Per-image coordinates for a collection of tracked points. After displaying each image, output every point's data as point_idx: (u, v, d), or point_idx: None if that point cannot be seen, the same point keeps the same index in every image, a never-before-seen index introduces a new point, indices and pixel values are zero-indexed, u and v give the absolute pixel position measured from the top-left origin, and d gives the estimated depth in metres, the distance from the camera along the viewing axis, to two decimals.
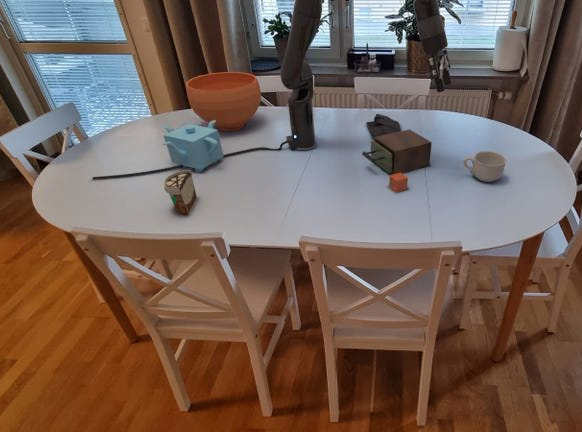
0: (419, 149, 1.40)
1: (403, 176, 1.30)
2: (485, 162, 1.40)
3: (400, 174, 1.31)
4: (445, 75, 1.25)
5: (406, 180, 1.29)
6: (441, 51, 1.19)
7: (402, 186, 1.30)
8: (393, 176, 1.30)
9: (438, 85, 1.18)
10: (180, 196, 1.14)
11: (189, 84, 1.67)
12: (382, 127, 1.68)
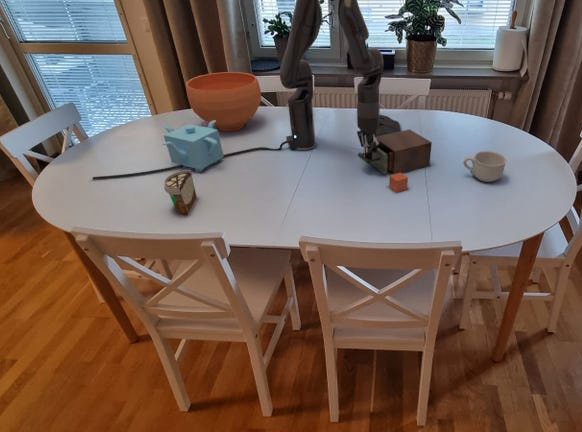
0: (419, 149, 1.40)
1: (403, 176, 1.30)
2: (485, 162, 1.40)
3: (400, 174, 1.31)
4: None
5: (406, 180, 1.29)
6: None
7: (402, 186, 1.30)
8: (393, 176, 1.30)
9: (370, 156, 1.38)
10: (180, 196, 1.14)
11: (189, 84, 1.67)
12: (382, 127, 1.68)
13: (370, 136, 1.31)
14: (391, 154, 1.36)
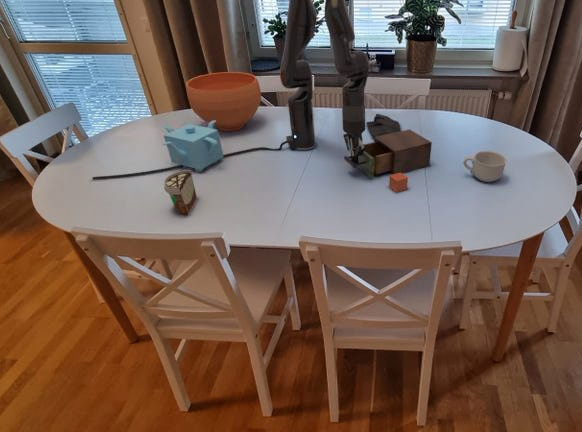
0: (419, 149, 1.40)
1: (403, 176, 1.30)
2: (485, 162, 1.40)
3: (400, 174, 1.31)
4: (354, 156, 1.36)
5: (406, 180, 1.29)
6: None
7: (402, 186, 1.30)
8: (393, 176, 1.30)
9: (356, 160, 1.36)
10: (180, 196, 1.14)
11: (189, 84, 1.67)
12: (382, 127, 1.68)
13: (356, 140, 1.29)
14: (377, 157, 1.34)
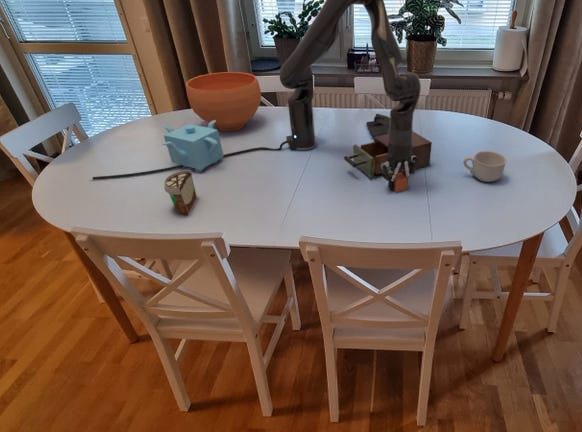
0: (419, 149, 1.40)
1: (403, 176, 1.30)
2: (485, 162, 1.40)
3: (400, 174, 1.31)
4: None
5: (406, 180, 1.29)
6: None
7: (402, 186, 1.30)
8: None
9: (389, 184, 1.30)
10: (180, 196, 1.14)
11: (189, 84, 1.67)
12: (382, 127, 1.68)
13: None
14: (377, 157, 1.34)
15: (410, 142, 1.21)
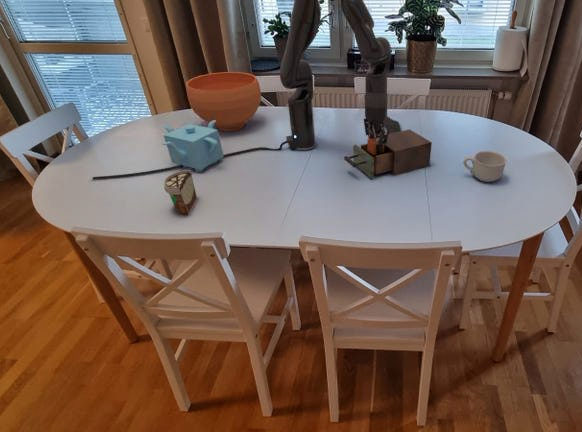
0: (419, 149, 1.40)
1: (375, 138, 1.38)
2: (485, 162, 1.40)
3: (371, 139, 1.38)
4: None
5: None
6: None
7: None
8: (375, 141, 1.36)
9: (380, 149, 1.36)
10: (180, 196, 1.14)
11: (189, 84, 1.67)
12: None
13: (378, 126, 1.30)
14: (377, 157, 1.34)
15: None
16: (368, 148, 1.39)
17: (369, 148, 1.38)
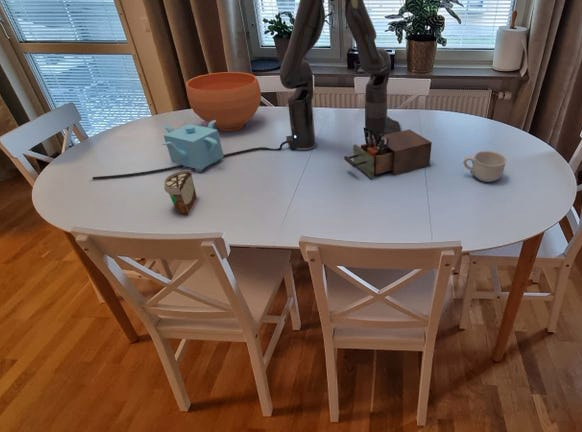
0: (419, 149, 1.40)
1: None
2: (485, 162, 1.40)
3: (371, 148, 1.40)
4: None
5: None
6: None
7: None
8: (375, 150, 1.38)
9: None
10: (180, 196, 1.14)
11: (189, 84, 1.67)
12: None
13: (378, 136, 1.32)
14: (377, 157, 1.34)
15: None
16: None
17: None
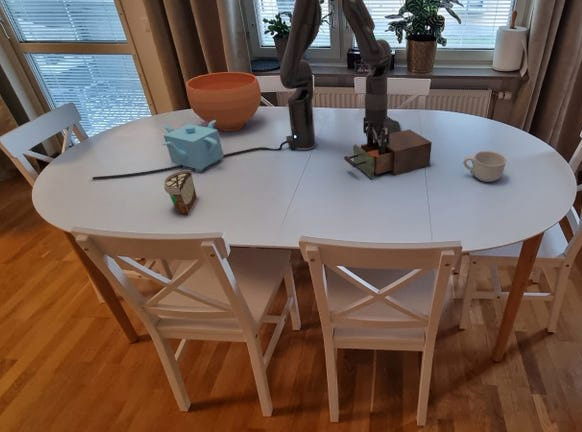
0: (419, 149, 1.40)
1: (375, 151, 1.41)
2: (485, 162, 1.40)
3: (371, 152, 1.41)
4: (370, 138, 1.40)
5: None
6: None
7: None
8: (375, 155, 1.39)
9: (383, 150, 1.34)
10: (180, 196, 1.14)
11: (189, 84, 1.67)
12: None
13: (378, 128, 1.31)
14: (377, 157, 1.34)
15: None
16: None
17: None
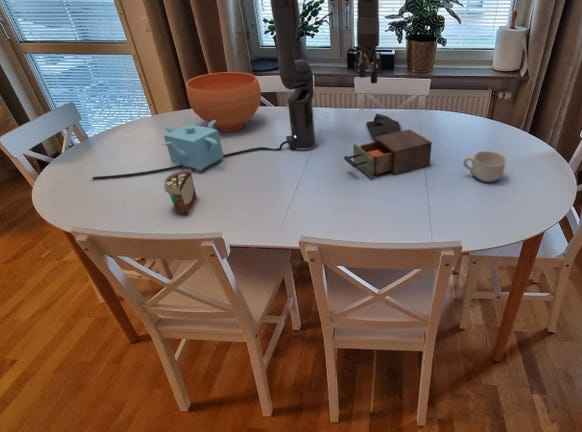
0: (419, 149, 1.40)
1: (375, 151, 1.41)
2: (485, 162, 1.40)
3: (371, 152, 1.41)
4: (362, 68, 1.41)
5: None
6: None
7: None
8: (375, 155, 1.39)
9: (375, 77, 1.35)
10: (180, 196, 1.14)
11: (189, 84, 1.67)
12: (382, 127, 1.68)
13: (370, 54, 1.32)
14: (377, 157, 1.34)
15: None
16: None
17: None
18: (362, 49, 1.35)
